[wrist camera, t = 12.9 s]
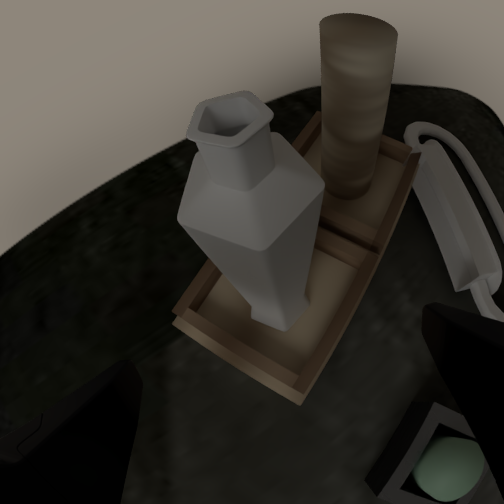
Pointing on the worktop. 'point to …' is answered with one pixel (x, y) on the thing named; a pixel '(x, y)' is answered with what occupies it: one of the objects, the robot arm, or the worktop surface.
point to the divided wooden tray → (318, 282)
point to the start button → (448, 467)
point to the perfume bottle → (252, 206)
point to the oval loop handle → (458, 215)
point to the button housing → (416, 454)
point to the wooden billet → (353, 99)
